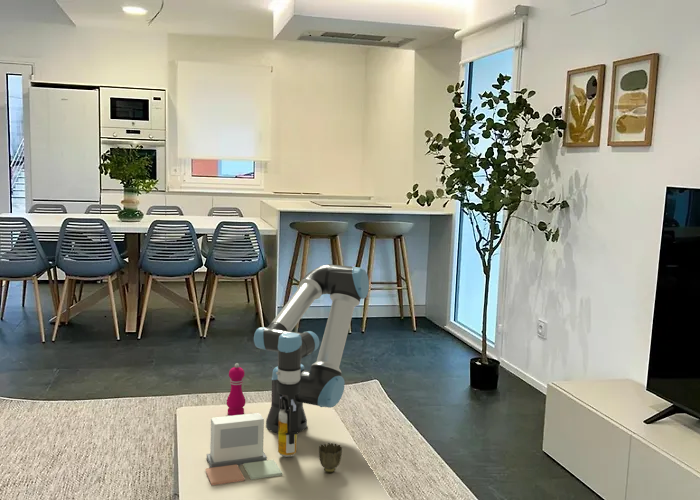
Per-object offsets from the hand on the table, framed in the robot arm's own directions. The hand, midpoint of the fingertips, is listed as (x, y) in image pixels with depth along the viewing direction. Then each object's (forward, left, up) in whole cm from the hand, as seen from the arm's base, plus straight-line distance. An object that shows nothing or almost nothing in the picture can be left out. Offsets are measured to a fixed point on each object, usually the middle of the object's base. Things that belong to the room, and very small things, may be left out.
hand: (287, 448), depth 218 cm
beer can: (0, 0, -2) cm, 2 cm away
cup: (-10, +14, -3) cm, 18 cm away
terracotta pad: (+22, +7, -3) cm, 24 cm away
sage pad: (+10, +7, -3) cm, 13 cm away
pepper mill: (+7, -44, -3) cm, 44 cm away
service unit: (+16, -3, -3) cm, 17 cm away
